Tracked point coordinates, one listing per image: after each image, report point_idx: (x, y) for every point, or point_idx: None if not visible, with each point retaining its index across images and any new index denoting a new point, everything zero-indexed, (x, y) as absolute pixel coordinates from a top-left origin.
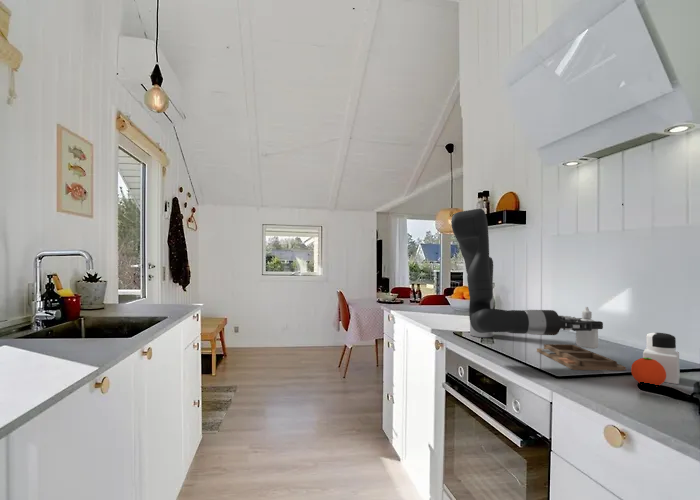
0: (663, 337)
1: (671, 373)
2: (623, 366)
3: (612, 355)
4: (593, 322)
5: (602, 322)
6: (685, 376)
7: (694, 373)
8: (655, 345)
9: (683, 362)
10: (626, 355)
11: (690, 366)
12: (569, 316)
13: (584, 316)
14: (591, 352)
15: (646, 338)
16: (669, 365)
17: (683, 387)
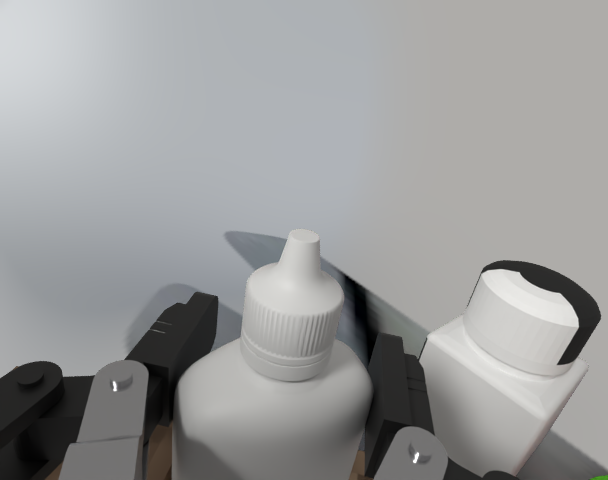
0: (598, 311)
1: (551, 425)
2: (361, 455)
3: (148, 317)
4: (407, 402)
5: (401, 338)
6: (422, 342)
7: (386, 302)
8: (568, 358)
9: (284, 246)
10: (172, 285)
11: (320, 262)
12: (124, 462)
13: (306, 365)
14: (168, 439)
15: (518, 326)
16: (563, 406)
17: (576, 455)
